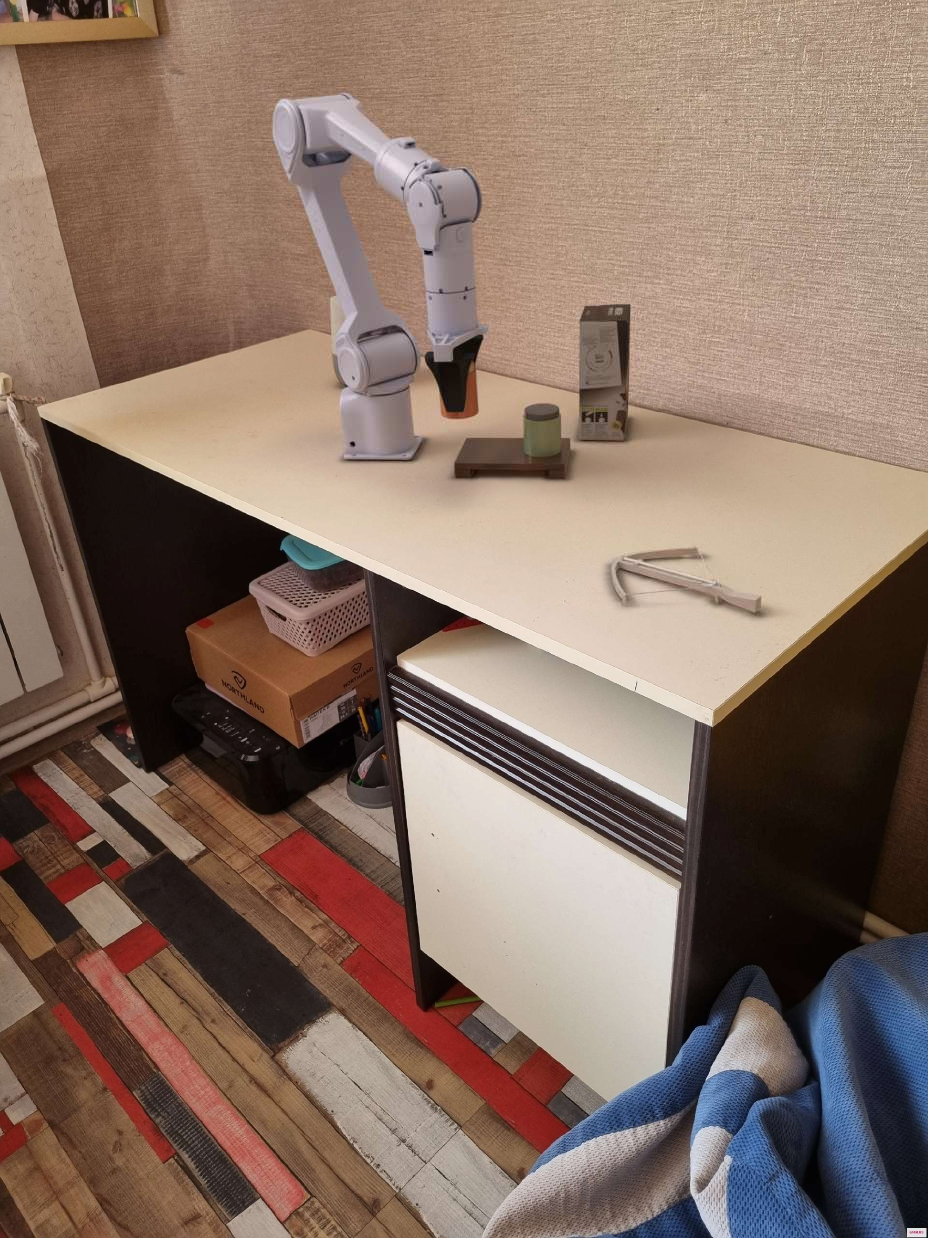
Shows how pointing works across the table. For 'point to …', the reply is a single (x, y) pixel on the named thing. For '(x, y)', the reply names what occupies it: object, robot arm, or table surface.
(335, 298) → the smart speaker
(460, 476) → the stand
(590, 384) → the coffee box
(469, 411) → the spice jar
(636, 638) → the table surface
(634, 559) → the crossbow
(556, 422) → the sage pot
